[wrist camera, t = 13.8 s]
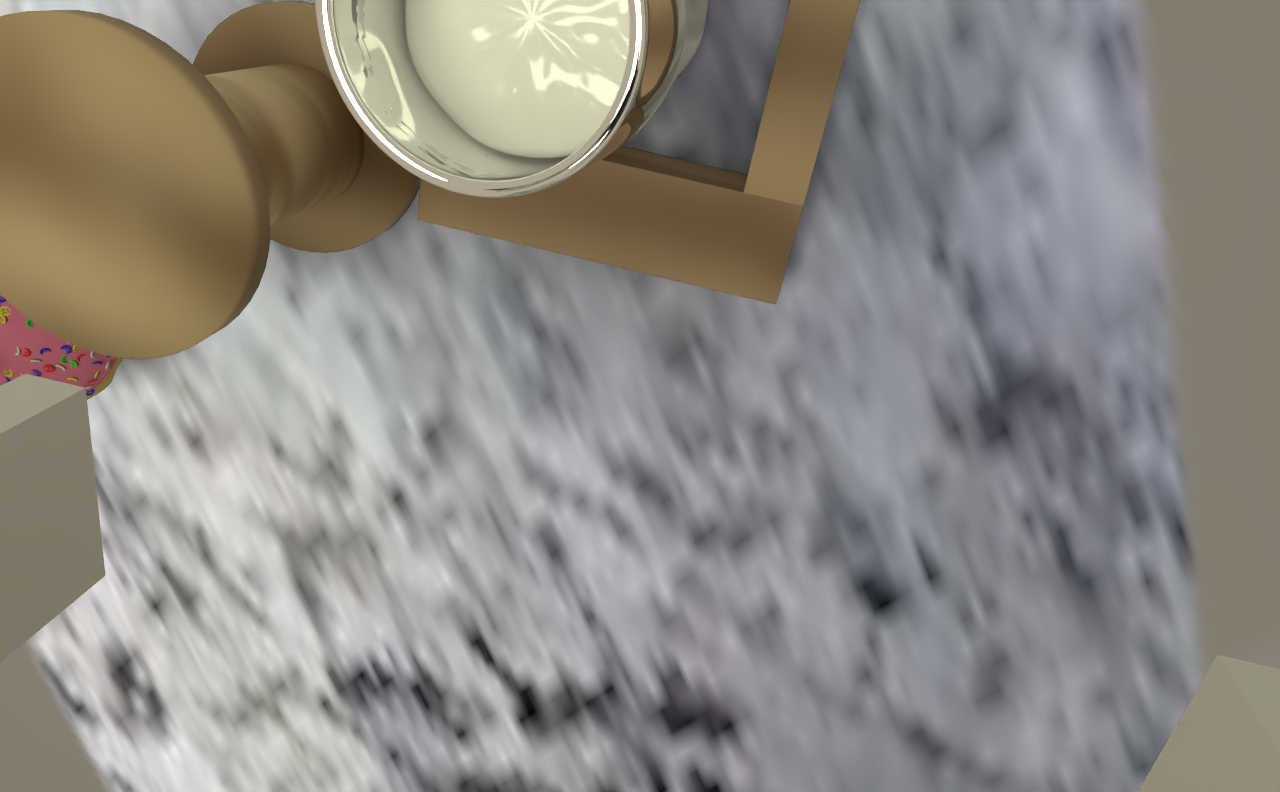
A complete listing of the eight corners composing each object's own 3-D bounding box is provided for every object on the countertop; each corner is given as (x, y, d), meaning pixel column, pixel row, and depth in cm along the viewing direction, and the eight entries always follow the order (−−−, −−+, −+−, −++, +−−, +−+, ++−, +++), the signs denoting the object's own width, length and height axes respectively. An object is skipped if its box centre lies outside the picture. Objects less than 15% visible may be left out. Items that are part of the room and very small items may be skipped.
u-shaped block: (778, 278, 33) (776, 304, 31) (447, 201, 34) (417, 219, 31) (874, -77, 28) (883, -84, 25) (480, -159, 29) (448, -173, 26)
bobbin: (417, 268, 36) (251, 392, 25) (206, 217, 36) (-45, 317, 25) (436, 30, 32) (247, 55, 21) (199, -23, 32) (-104, -25, 21)
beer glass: (481, -31, 30) (232, -42, 17) (653, -159, 28) (521, -288, 15) (588, 149, 32) (441, 267, 19) (757, 44, 30) (726, 95, 17)
